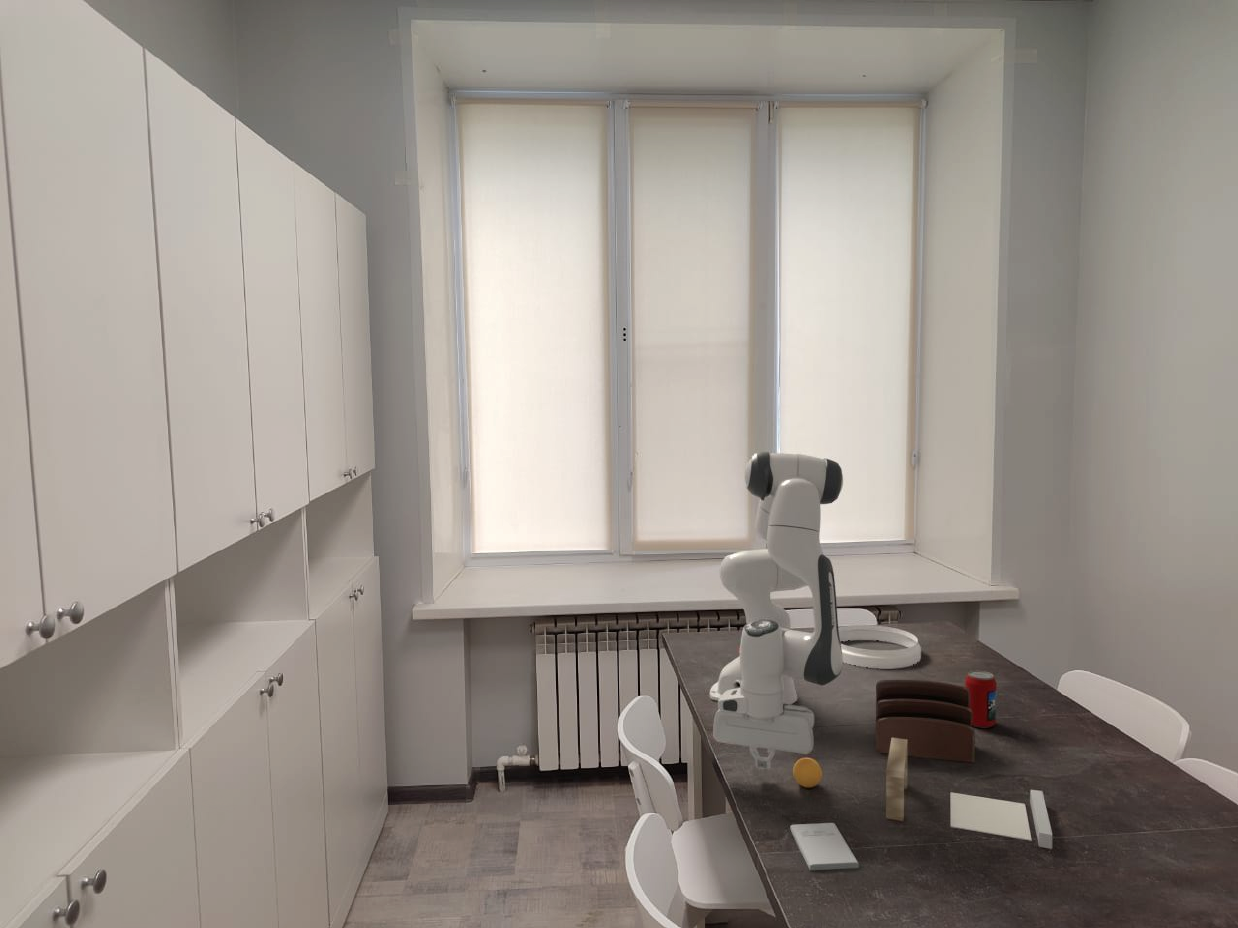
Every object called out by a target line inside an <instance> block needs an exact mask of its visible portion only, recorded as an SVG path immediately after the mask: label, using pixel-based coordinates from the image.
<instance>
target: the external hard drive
mask: <svg viewBox="0 0 1238 928" xmlns="http://www.w3.org/2000/svg"><path fill="white" fill-rule="evenodd" d="M789 829H790V831H791V834H792V836H793V838H794V840H795V842H796V843H795V844H796V845H797V847H798V849H799V851H800V853H801V854H802V857H803V859H804V861H805V863H806V866H807V867H808V869H809V871H825V870H826V871H827V870H844V869H845V870H846V869H859V861H858V860H857V859H856V857H855V855H854V854H853V851H852V850H851V849H850V846H849V845H848V844H847V842H846V840H845V839H844V837H843V835H842V834H841V832H840V830H839V829H838V827H837V825H836V824H835V823H834V822H823V823H804V824H802V823H801V824H799V823H797V824H792V825H790V828H789Z"/></svg>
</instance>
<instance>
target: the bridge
mask: <svg viewBox="0 0 1238 928" xmlns="http://www.w3.org/2000/svg"><path fill="white" fill-rule="evenodd" d="M907 742H908V740H906V739H899V738H891V744H890V750H889V754H888V755H887V764H886V767H885V768H886V769H885V775H886V776H885V779H886V780H885V781H886V782H885V796H886V797H885V819H891V820H896V821H900V822H901V821H902V822H904V818H905V811H904V810H905V790H907V789H908V756H907Z"/></svg>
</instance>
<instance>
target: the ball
mask: <svg viewBox="0 0 1238 928" xmlns="http://www.w3.org/2000/svg"><path fill="white" fill-rule="evenodd" d="M792 771H793V772H792V773H793V778H794V779H795V781H796V782H797V783H798V785H800V786H801V787H804V788H813V787H815V786H817V785H818V784H819V783H820V781H821V780H822V777H823V772H822V768H821V766H820V764H819V763H818V762H817V760H815V759H814V758H811V757H802V758H799V759H798V760H797V761H796V762H795V763H794V765H793V768H792Z"/></svg>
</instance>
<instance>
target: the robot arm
mask: <svg viewBox="0 0 1238 928" xmlns="http://www.w3.org/2000/svg"><path fill="white" fill-rule="evenodd" d="M744 469H745V470H744V482H745V485H746V490H747V491H748V492H750V494H751V495H754V496H755V497H757V498H759V501H758V507H757V511H756V517H755V522H754V523H755V524H754V529H755V532H756V535H757V536H758V537H759V538H760V539H761V541H763V542H764V543H766V548H765V549H764V548H763V549H754V550H753V549H752V550H741V551H737V552H734V553H732V554H728V555H726V556H725V557H724V558H723V560H722V561H721V563H720V567H719V579H720V582H721V584H722V586H723V587H724V589H726V590H727V591H728V592H729V593H730V594H732V595H734V597H736V599H737V600H738V601H739V602H740V604H741V606H742V608H743V611H744V614H745V621H746V624H745V625H744V626H743V628H742V632H741V637H740V645H739V648H738V653H739V656H738V657H736V658H734V659H733V660H731V661H730V662H729V663H727V664H726V665H724V667H723V668H722V670H721V671H720V673H719V677H718V681H717V682H716V683H714V684H713V685H711V688H710V690H709V698H710V699H711V700H713V701H716V702H717V709H718V710H716V712H715V714H714V716H713V717H714V718H713V726H712V727H713V728H712V737H713V738H714V740H715V741H716V742H718V743H724V744H729V745H730V744H731V745H737V746H743V747H744V746H745V747H749V753H750V754H751V756H752V757H753V759H754V767H755V768H757V769H765V770H770V769H771V767H772V766H771V765H772V759H773V757H774V756H775V754H776V752H777V751H778V752H779V751H780V752H788V753H793V754H795V753H796V754H803V755H809V754H810V753H811V752H812V751H813V749H814V743H815V741H814V739H815V738H814V732H813V731H814V730H813V727H814V726H815V714H814V712H813V711H812V710H811V709H810V708H808V707H807V706H804V705H795V704H794V703H795V702H797V701H798V695H797V692H796V688H795V683H794V679H799V680H803V681H806V682H809V683H812V684H815V685H819V686H821V687H822V686H826V685H828V684H829V683H831V682H833V681H834V680H835V679H837V678H838V677H839V676H840V675H841V672H842V670H843V669H842V668H843V659H842V649H841V644H842V643H841V642H840V638H839V631H838V628H839V619H838V607H837V606H838V604H837V594H836V593H837V592H836V582H835V581H836V580H835V572H834V568H833V565H832V562H831V560H830V558H829V557H827V556H826V555H825V554H824V552H823V550H822V549H823V548H822V547H821V541H820V533H821V532H820V531H821V518H822V517H821V510H822V509H821V505H828V504H832V503H834V502H835V501H837V500H838V499H839V496H840V494H841V492H842V489H843V486H844V475H843V469H842V467H841V466H840V464H839V463H838V462H837V461H835V460H832V459H829V458H826V457H825V458H821V457H820V458H819V457H816V456H811V455H806V454H801V453H796V454H795V453H794V454H793V453H785V452H784V453H780V452H779V453H778V452H771V453H770V452H769V451H760V452H754V454H752V455H751V456H750V458H749V460H748V462H747V463H746V466H745V468H744ZM807 586H808V587H809V589H810V591H811V595H812V611H813V612H812V613H813V626H814V630H813V632H808V631H807V632H806V631H800V630H792V629H791V616H790V614H789V613H788V612H787V610H786V609H784V608H783V607H782V606H780V605H777V604H775V603H773V602H772V600H771V593H773V592H783V591H784V592H785V591H792V590H793V591H795V590H797V589H801V588H804V587H807ZM759 748H760V749H765V750H766V749H767V754H768V756H761V755H760V754H759V751H758V749H759Z"/></svg>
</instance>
